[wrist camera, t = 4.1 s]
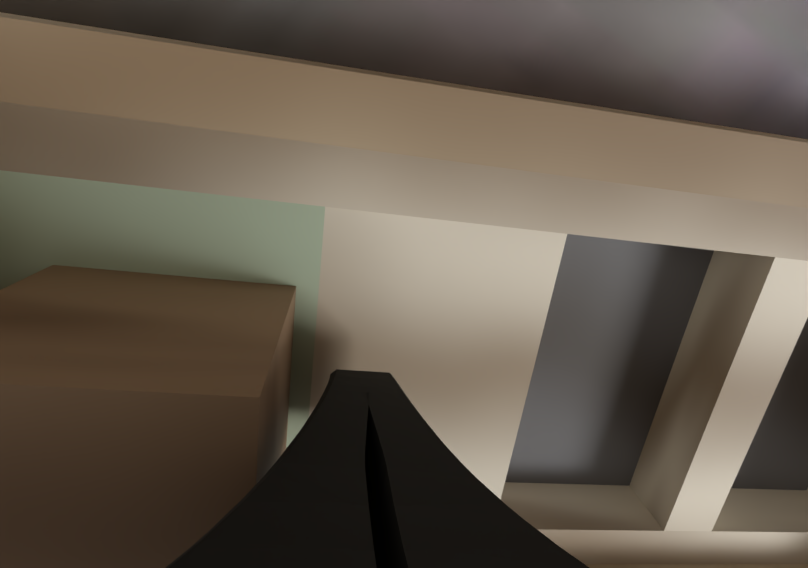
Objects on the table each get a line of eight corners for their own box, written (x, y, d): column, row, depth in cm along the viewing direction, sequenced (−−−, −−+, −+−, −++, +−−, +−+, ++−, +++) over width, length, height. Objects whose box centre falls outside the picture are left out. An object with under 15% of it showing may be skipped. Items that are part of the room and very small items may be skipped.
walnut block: (284, 466, 11) (250, 651, 7) (75, 460, 10) (-89, 661, 6) (296, 285, 9) (259, 397, 6) (52, 264, 9) (-177, 374, 5)
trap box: (781, 539, 17) (908, 662, 13) (50, 533, 13) (-70, 699, 9) (971, 173, 12) (1240, 196, 9) (-24, 19, 9) (-300, -55, 5)
